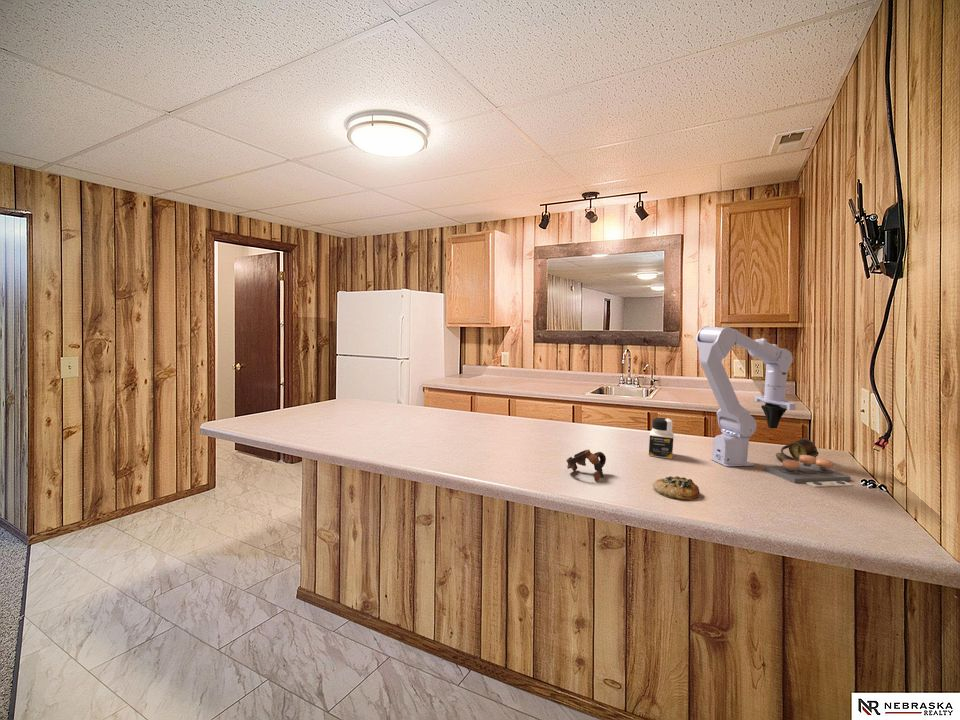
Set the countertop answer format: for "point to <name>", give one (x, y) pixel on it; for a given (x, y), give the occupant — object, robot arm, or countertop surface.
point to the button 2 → (823, 464)
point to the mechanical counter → (798, 450)
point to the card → (829, 483)
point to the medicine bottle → (661, 438)
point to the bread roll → (676, 488)
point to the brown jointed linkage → (593, 458)
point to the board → (807, 474)
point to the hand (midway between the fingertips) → (772, 427)
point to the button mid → (807, 460)
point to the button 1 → (790, 464)
